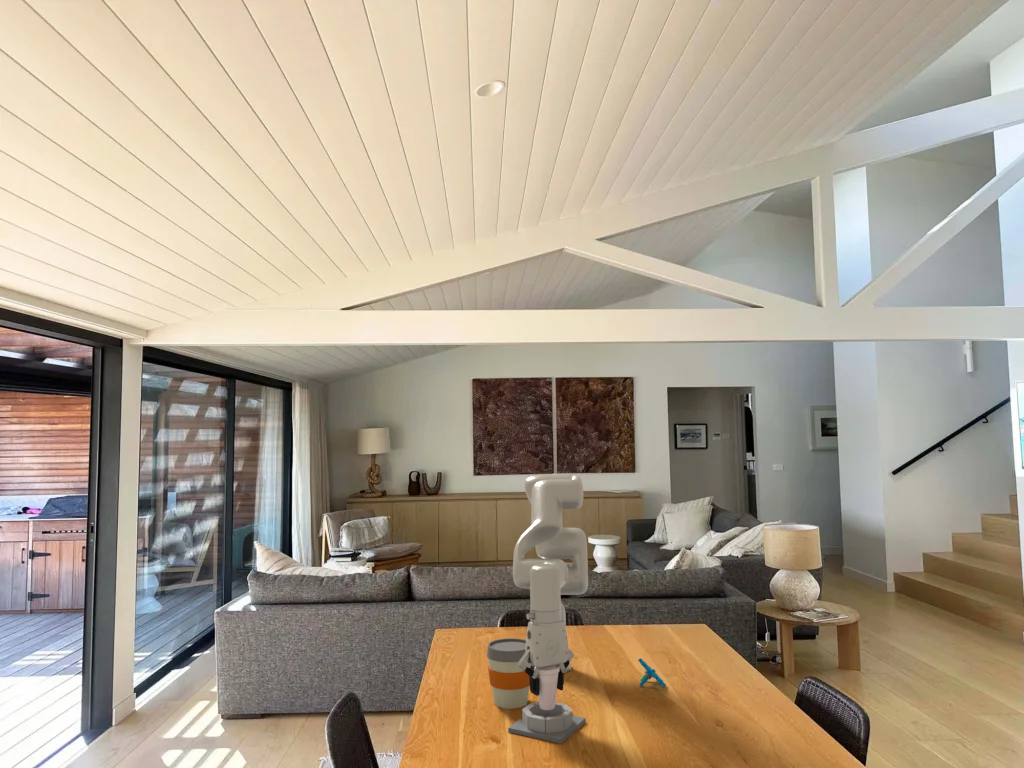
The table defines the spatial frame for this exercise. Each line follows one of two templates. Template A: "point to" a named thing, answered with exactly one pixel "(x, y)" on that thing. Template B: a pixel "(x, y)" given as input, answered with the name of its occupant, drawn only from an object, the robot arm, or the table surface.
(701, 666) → the table surface
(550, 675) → the smoothie
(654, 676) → the gear
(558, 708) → the bottle socket
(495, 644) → the reusable coffee cup
